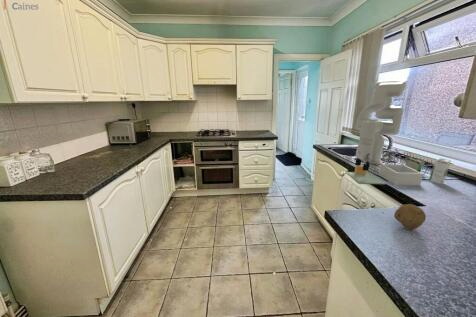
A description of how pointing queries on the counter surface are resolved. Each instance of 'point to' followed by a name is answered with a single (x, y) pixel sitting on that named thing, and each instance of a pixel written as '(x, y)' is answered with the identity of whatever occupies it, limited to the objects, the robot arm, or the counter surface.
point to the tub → (400, 174)
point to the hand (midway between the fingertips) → (361, 167)
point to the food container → (414, 163)
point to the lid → (364, 176)
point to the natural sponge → (410, 216)
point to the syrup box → (439, 170)
